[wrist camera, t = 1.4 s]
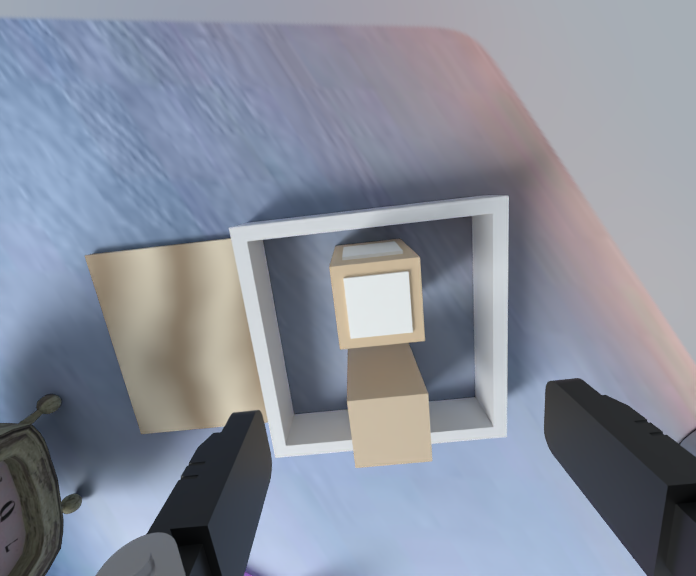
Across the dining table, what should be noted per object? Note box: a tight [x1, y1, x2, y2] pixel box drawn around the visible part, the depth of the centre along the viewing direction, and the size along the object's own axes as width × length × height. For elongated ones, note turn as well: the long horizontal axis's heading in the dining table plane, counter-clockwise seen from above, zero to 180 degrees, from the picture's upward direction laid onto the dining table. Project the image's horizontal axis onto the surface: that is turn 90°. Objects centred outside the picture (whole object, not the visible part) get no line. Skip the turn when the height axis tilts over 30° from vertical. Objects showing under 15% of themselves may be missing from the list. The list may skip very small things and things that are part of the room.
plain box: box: [347, 343, 432, 468], centre depth 26 cm, size 5×5×8 cm
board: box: [85, 238, 268, 434], centre depth 29 cm, size 12×16×1 cm
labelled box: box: [329, 239, 425, 350], centre depth 23 cm, size 5×5×8 cm
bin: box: [229, 195, 509, 458], centre depth 26 cm, size 18×18×4 cm
